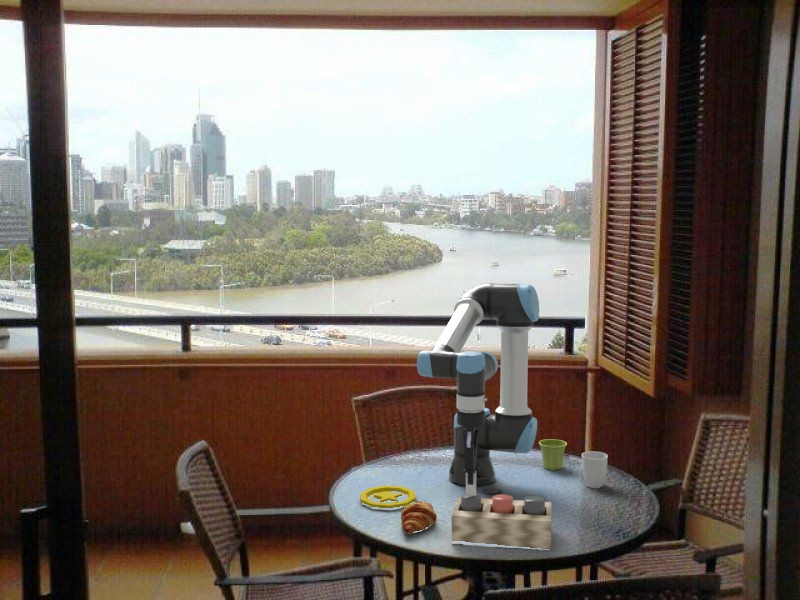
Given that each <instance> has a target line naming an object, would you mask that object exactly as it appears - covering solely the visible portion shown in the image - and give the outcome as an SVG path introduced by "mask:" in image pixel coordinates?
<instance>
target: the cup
mask: <svg viewBox="0 0 800 600" xmlns="http://www.w3.org/2000/svg"><path fill="white" fill-rule="evenodd" d="M608 457H609V456H608V454H607V453H605V452H602V451H585V452H582V453H581V467H582V468H581V469H582V474H583V479H584V482H585V485H586V487H587V488H589V489H600V487H601V488H602V487H603V485H604V482H605V480H606V475H607V470H608Z"/></svg>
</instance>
